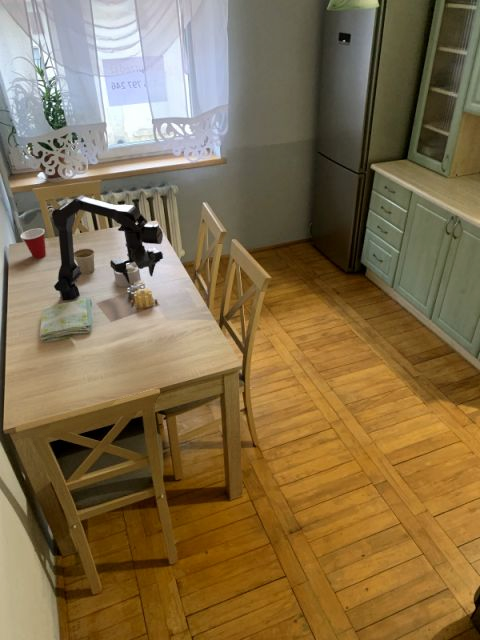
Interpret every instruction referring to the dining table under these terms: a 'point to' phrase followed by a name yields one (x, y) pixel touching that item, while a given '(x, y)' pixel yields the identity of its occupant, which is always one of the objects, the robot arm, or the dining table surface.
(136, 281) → the small gear
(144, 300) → the loose gear
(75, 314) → the towel
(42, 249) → the plastic cup
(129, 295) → the gear
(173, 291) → the dining table surface
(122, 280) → the grey paw block
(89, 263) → the flower pot
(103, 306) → the board
